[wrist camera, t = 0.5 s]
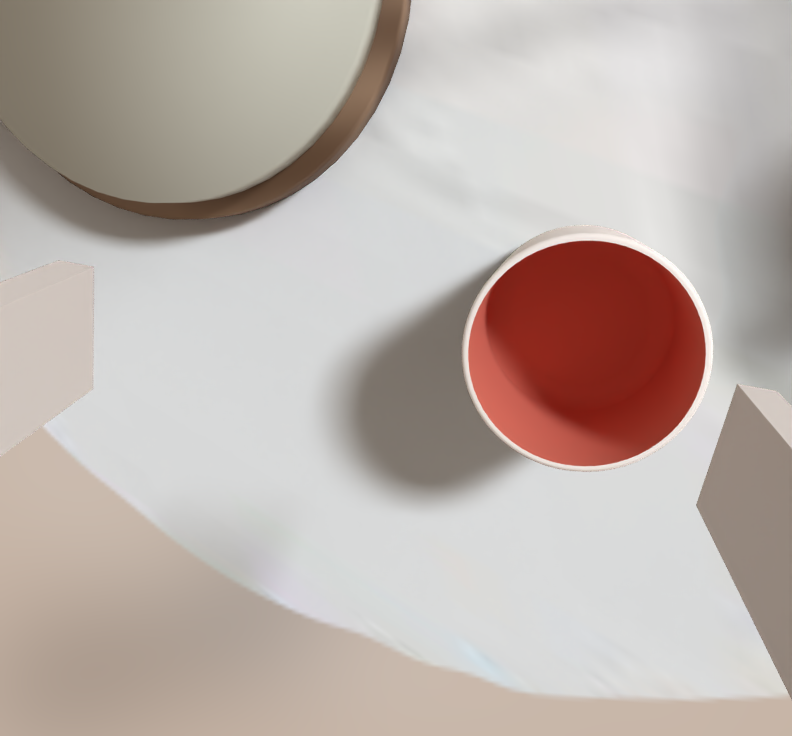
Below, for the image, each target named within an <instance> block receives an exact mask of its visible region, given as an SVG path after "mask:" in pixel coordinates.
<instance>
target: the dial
mask: <svg viewBox="0 0 792 736" xmlns="http://www.w3.org/2000/svg"><path fill="white" fill-rule="evenodd" d="M381 7H382V0H0V119H1V121H2V122H3V123H4V124H5V126H6V127H7V128H8V129H9V130H10V131H11V132H12V133H13V135H14V136H15V137H16V138H17V139H18V140H19V141H20V142H21V143H22V144H23V145H24V146H25V147H26V148H27V149H28V150H29V151H31V152H32V153H33V154H34V155H36V156H37V157H38V158H39V159H41V160H42V161H43V162H44V163H46V164H47V165H48V166H49V167H51V168H53V169H54V170H56V171H57V172H59V173H61V174H62V175H64V176H66V177H67V178H69V179H70V180H72V181H74V182H76V183H79V184H81V185H83V186H85V187H88V188H90V189H92V190H94V191H97V192H100V193H103V194H106V195H110V196H113V197H117V198H120V199H125V200H132V201H139V202H146V203H191V202H200V201H207V200H213V199H220V198H223V197H226V196H229V195H232V194H236V193H239V192H242V191H245V190H247V189H249V188H251V187H253V186H256V185H258V184H260V183H262V182H264V181H266V180H268V179H270V178H271V177H273V176H274V175H276V174H277V173H279V172H280V171H282V170H283V169H285V168H286V167H288V166H289V165H291V164H292V163H293V162H294V161H296V160H297V159H298V158H299V157H300V156H301V155H302V154H304V153H305V152H306V151H307V150H308V149H309V148H310V147H311V146H313V145H314V143H315V142H316V141H317V140H318V139H319V138H320V137H321V135H322V134H323V133H324V132H325V131H326V130H327V128H328V127H329V126H330V125H331V124H332V123H333V121H334V120H335V118H336V117H337V115H338V114H339V112H340V111H341V109H342V108H343V106H344V105H345V103H346V102H347V100H348V99H349V97H350V95H351V93H352V91H353V89H354V87H355V85H356V83H357V81H358V79H359V77H360V75H361V73H362V71H363V69H364V66H365V63H366V61H367V58H368V55H369V52H370V49H371V46H372V44H373V41H374V38H375V34H376V29H377V25H378V20H379V16H380V12H381Z"/></svg>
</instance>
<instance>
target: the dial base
mask: <svg viewBox="0 0 792 736" xmlns="http://www.w3.org/2000/svg"><path fill="white" fill-rule="evenodd" d="M410 5H411V0H382V7H381V12H380V16H379V20H378V25H377V29H376V34H375V38H374V41H373V44H372V46H371V49H370V52H369V55H368V58H367V61H366V63H365V66H364V69H363V71H362V73H361V75H360V77H359V79H358V81H357V83H356V85H355V87H354V89H353V91H352V93H351V95H350V97H349V99H348V100H347V102H346V103H345V105H344V106H343V108H342V109H341V111H340V112H339V114H338V115H337V117H336V118H335V120H334V121H333V123H332V124H331V125H330V126H329V127H328V128H327V130H326V131H325V132H324V133H323V134H322V135H321V137H320V138H319V139H318V140H317V141H316V142H315V143H314V145H313V146H311V147H310V148H309V149H308V150H307V151H306V152H305V153H304V154H302V155H301V156H300V157H299V158H298V159H297V160H296V161H294V162H293V163H292V164H291V165H289V166H288V167H286V168H285V169H283V170H282V171H280V172H279V173H277V174H276V175H274V176H273V177H271V178H270V179H268V180H266V181H264V182H262V183H260V184H258V185H256V186H253V187H251V188H249V189H247V190H245V191H242V192H239V193H236V194H232V195H229V196H226V197H223V198H220V199H213V200H207V201H200V202H191V203H146V202H139V201H132V200H125V199H120V198H117V197H113V196H110V195H106V194H103V193H100V192H97V191H94V190H92V189H90V188H88V187H85V186H83V185H81V184H79V183H76V182H74V181H72V180H70V179H69V178H67V177H66V176H64V175H62V174H61V173H59V172H58V173H59V174H60V175H62V176H63V177H64V178H65V179H67V180H68V181H69V182H70V183H72V184H74V185H75V186H77V187H79V188H80V189H82V190H84V191H85V192H87V193H88V194H90V195H92V196H93V197H95V198H98V199H100V200H102V201H104V202H107V203H109V204H111V205H113V206H116V207H118V208H121V209H124V210H128V211H131V212H135V213H138V214H142V215H146V216H153V217H160V218H167V219H209V218H219V217H226V216H232V215H239V214H243V213H247V212H250V211H253V210H257V209H260V208H263V207H267V206H269V205H271V204H273V203H275V202H277V201H279V200H282V199H284V198H286V197H288V196H290V195H292V194H294V193H295V192H297V191H298V190H300V189H301V188H303V187H304V186H306V185H307V184H309V183H311V182H312V181H314V180H315V179H316V178H318V177H319V176H320V175H321V174H322V173H323V172H324V171H326V170H327V169H328V168H329V167H330V166H331V165H333V164H334V163H335V162H336V161H337V160H338V159H339V158H340V157H341V156H342V155H343V153H344V152H345V151H346V150H347V149H348V148H349V147H350V145H351V144H352V143H353V142H354V141H355V140H356V139H357V138H358V136H359V135H360V133H361V132H362V130H363V129H364V127H365V126H366V124H367V123H368V121H369V120H370V118H371V117H372V115H373V114H374V113H375V111H376V109H377V107H378V105H379V103H380V101H381V99H382V97H383V95H384V93H385V91H386V89H387V87H388V85H389V83H390V81H391V78H392V75H393V73H394V70H395V67H396V64H397V62H398V59H399V56H400V53H401V50H402V46H403V42H404V37H405V33H406V29H407V25H408V21H409V14H410ZM55 171H56V170H55Z"/></svg>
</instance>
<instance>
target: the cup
mask: <svg viewBox="0 0 792 736" xmlns="http://www.w3.org/2000/svg"><path fill="white" fill-rule="evenodd" d="M712 362H713V339H712V332H711V327H710V323H709V319H708V316H707V313H706V310H705V307H704V305H703V303H702V301H701V299H700V297H699V295H698V293H697V292H696V290H695V288H694V287H693V285H692V284H691V283H690V281H689V280H688V279H687V278H686V276H685V275H684V274H683V273H682V272H681V271H680V270H679V269H678V268H677V267H676V266H675V265H674V264H673V263H672V262H670V261H669V260H668V259H667V258H665V257H664V256H662V255H661V254H659V253H658V252H656V251H655V250H653V249H651V248H650V247H648V246H646V245H644V244H643V243H641V242H639V241H638V240H636V239H634V238H632V237H630V236H628V235H626V234H624V233H622V232H619V231H617V230H613V229H610V228H606V227H601V226H594V225H574V226H566V227H561V228H556V229H553V230H550V231H547V232H544V233H542V234H540V235H538V236H536V237H534V238H532V239H530V240H529V241H527V242H526V243H524V244H523V245H521V246H520V247H519V248H518V249H516V250H515V251H514V252H513V253H512V254H511V255H510V256H509V257H508V258H507V259H506V260H505V261H504V262H503V263H502V264H501V266H500V267H499V268H498V269H497V270H496V271H495V272H494V273H493V275H492V276H491V277H490V278H489V279H488V281H487V282H486V283H485V284H484V286H483V287H482V289H481V290H480V292H479V293H478V295H477V297H476V299H475V301H474V303H473V305H472V307H471V309H470V312H469V314H468V317H467V320H466V324H465V328H464V333H463V340H462V367H463V373H464V378H465V383H466V386H467V389H468V392H469V395H470V397H471V400H472V402H473V404H474V406H475V408H476V410H477V411H478V413H479V414H480V416H481V418H482V419H483V420H484V422H485V423H486V424H487V426H488V427H489V428H490V429H491V430H492V431H493V433H494V434H495V435H496V436H497V437H499V438H500V439H501V440H502V441H503V442H504V443H505V444H507V445H508V446H509V447H510V448H512V449H513V450H515V451H516V452H518V453H520V454H521V455H523V456H525V457H527V458H529V459H531V460H533V461H535V462H538V463H541V464H543V465H546V466H550V467H553V468H557V469H562V470H570V471H582V472H591V471H603V470H610V469H615V468H619V467H623V466H626V465H629V464H632V463H634V462H637V461H639V460H641V459H643V458H645V457H648V456H650V455H651V454H653V453H654V452H656V451H658V450H659V449H661V448H662V447H663V446H665V445H666V444H667V443H668V442H670V441H671V440H672V439H673V438H674V437H675V436H676V435H677V434H678V433H679V432H680V431H681V430H682V429H683V428H684V427H685V426H686V424H687V423H688V422H689V421H690V419H691V418H692V417H693V415H694V413H695V412H696V410H697V409H698V407H699V405H700V403H701V401H702V399H703V397H704V394H705V392H706V389H707V386H708V383H709V379H710V375H711V369H712Z"/></svg>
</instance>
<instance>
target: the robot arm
mask: <svg viewBox="0 0 792 736" xmlns="http://www.w3.org/2000/svg"><path fill="white" fill-rule="evenodd" d="M93 339H94V267H93V266H87V265H82V264H76V263H71V262H65V261H60V260H58V261H55V262H53V263H50V264H47V265H45V266H42V267H39V268H37V269H34V270H31V271H29V272H26V273H24V274H21V275H18V276H16V277H13V278H10V279H8V280H5V281H2V282H0V457H1V456H2V455H3V454H5V453H6V452H8V451H9V450H10V449H12V448H13V447H14V446H16V445H17V444H18V443H20V442H21V441H23V440H24V439H25V438H27V437H28V436H29V435H31V434H32V433H34V432H35V431H36V430H37V429H39V428H40V427H42V426H43V425H45V424H46V423H47V422H49V421H50V420H51V419H53V418H54V417H55V416H57V415H58V414H60V413H61V412H62V411H64V410H65V409H66V408H68V407H69V406H71V405H72V404H73V403H75V402H76V401H77V400H79V399H80V398H81V397H83V396H84V395H86V394H87V393H88V392H90V391H91V390H92V389H93ZM696 506H697V508H698V510H699V512H700V514H701V516H702V518H703V520H704V522H705V524H706V526H707V528H708V530H709V532H710V534H711V536H712V538H713V540H714V543H715V545H716V547H717V549H718V551H719V553H720V555H721V557H722V559H723V561H724V563H725V565H726V567H727V569H728V571H729V573H730V575H731V577H732V579H733V581H734V583H735V585H736V587H737V589H738V591H739V593H740V595H741V597H742V599H743V602H744V604H745V606H746V608H747V610H748V612H749V614H750V616H751V618H752V620H753V622H754V624H755V626H756V628H757V630H758V632H759V634H760V636H761V638H762V640H763V642H764V644H765V646H766V648H767V650H768V652H769V654H770V656H771V658H772V661H773V663H774V665H775V667H776V669H777V671H778V673H779V675H780V677H781V679H782V681H783V683H784V685H785V687H786V689H787V691H788V693H789V695H790V697H791V699H792V406H791V405H790V404H789V403H788V402H787V401H786V400H785V399H784V398H783V397H782V396H781V395H780V394H779V393H778V392H777V391H774V390H768V389H763V388H757V387H752V386H746V385H741V384H737V386H736V389H735V392H734V395H733V398H732V401H731V404H730V407H729V410H728V413H727V416H726V419H725V422H724V425H723V428H722V431H721V433H720V436H719V439H718V442H717V445H716V448H715V451H714V454H713V457H712V460H711V463H710V466H709V469H708V472H707V475H706V478H705V481H704V484H703V487H702V489H701V492H700V495H699V498H698V501H697V504H696Z"/></svg>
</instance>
